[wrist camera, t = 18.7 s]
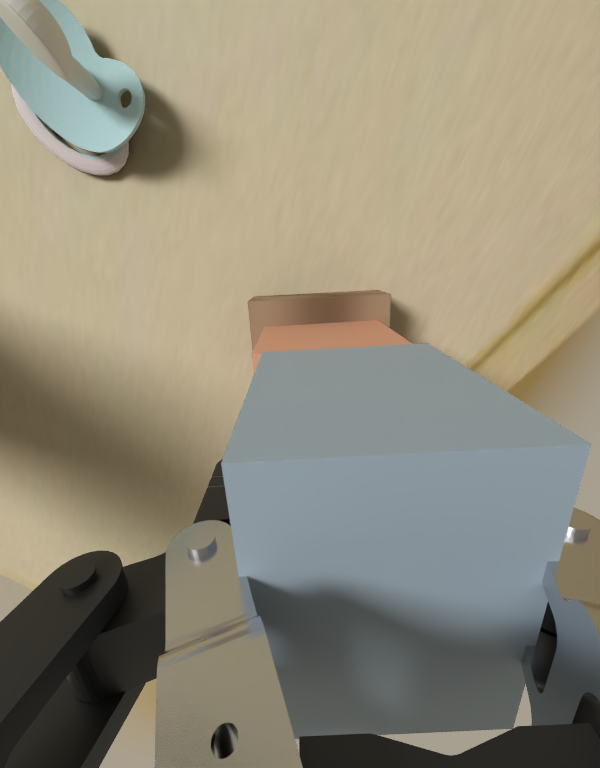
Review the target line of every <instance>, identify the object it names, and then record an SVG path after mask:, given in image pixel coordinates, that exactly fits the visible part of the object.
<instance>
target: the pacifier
mask: <svg viewBox="0 0 600 768" xmlns="http://www.w3.org/2000/svg"><path fill="white" fill-rule="evenodd" d="M0 65H1V67H2V69H3V71H4V73H5V74H6V76H7V78H8V79H9V81H10V82H11V86H12V94H13V97H14V100H15V103H16V105H17V108H18V110H19V112H20V114H21V116H22V117H23V119H24V121H25V123H26V124H27V126H28V127H29V128H30V130H31V131H32V132H33V133H34V135H35V136H36V137H37V138H38V140H39V141H40V142H41V143H42V144H43V145H44V146H45V147H46V148H47V149H48V150H49V151H51V152H52V153H53V154H54V155H55V156H57V157H58V158H59V159H61V160H62V161H64V162H65V163H66V164H68V165H70V166H72V167H74V168H76V169H78V170H80V171H82V172H86V173H89V174H93V175H111V174H113V173H116V172H118V171H119V170H120V169H121V168H122V167H123V166H124V165H125V164H126V161H127V158H128V155H129V140H130V138H131V137H132V136H133V135H134V133H135V132H136V130H137V129H138V127H139V125H140V123H141V120H142V118H143V115H144V110H145V93H144V89H143V87H142V84H141V82H140V80H139V79H138V77H137V75H136V74H135V73H134V72H133V70H132V69H131V68H130V67H128V66H127V65H126V64H124V63H122V62H120V61H118V60H114V59H111V58H102V57H100V56H99V55H98V54H97V53H96V52H95V49H94V47H93V45H92V42H91V41H90V39H89V37H88V35H87V34H86V32H85V30H84V29H83V27H82V26H81V24H80V23H79V21H78V20H77V19H76V17H75V16H74V15H73V14H72V13H71V12H70V11H69V10H68V8H67V7H66V6H64V5H63V4H62V3H61V2H60V1H59V0H0ZM126 91H130V92H131V95H132V100H131V103H130V105H129V106H128V107H126V108H123V107H122V103H121V96H122V94H123V93H124V92H126ZM49 127H50V128H51V129H53V130H54V131H55V132H56V133H57V134H59V135H60V136H61V137H63V138H64V139H66V140H67V141H69V142H70V143H72V144H74V145H76V146H78V147H80V148H82V149H85V150H88V151H91V152H97V153H105V154H103V155H100V156H88V155H85V154H81V153H79V152H77V151H75V150H73V149H72V148H70V147H69V146H68V145H66V144H65V143H64V142H62V141H61V140H60V139H59V138H58V137H57V136H56V135H55V134H54V133H53V132H52V130H51V129H50V128H49Z"/></svg>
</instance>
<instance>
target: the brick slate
mask: <svg viewBox="0 0 600 768" xmlns="http://www.w3.org/2000/svg"><path fill="white" fill-rule="evenodd" d="M590 447H591V443H589V442H587V441H586V440H584V439H583V438H581V437H579V436H578V435H576V434H574V433H573V432H571V431H570V430H568V429H566V428H564V427H563V426H561V425H560V424H558V423H557V422H555V421H553V420H552V419H550V418H548V417H547V416H545V415H543V414H542V413H540V412H538V411H537V410H535V409H534V408H532V407H530V406H529V405H527V404H526V403H524V402H522V401H521V400H519V399H517V398H516V397H514V396H512V395H511V394H509V393H508V392H506V391H504V390H503V389H501V388H499V387H498V386H496V385H495V384H493V383H491V382H490V381H488V380H486V379H485V378H483V377H482V376H480V375H478V374H477V373H475V372H473V371H472V370H470V369H468V368H467V367H465V366H464V365H462V364H460V363H459V362H457V361H455V360H454V359H452V358H451V357H449V356H447V355H446V354H444V353H442V352H441V351H439V350H437V349H436V348H434V347H433V346H431V345H429V344H428V343H422V344H404V345H386V346H368V347H349V348H331V349H313V350H294V351H276V352H262V355H261V357H260V360H259V363H258V366H257V368H256V371H255V374H254V376H253V379H252V382H251V384H250V387H249V390H248V392H247V395H246V398H245V400H244V403H243V406H242V409H241V411H240V414H239V417H238V419H237V422H236V425H235V427H234V430H233V433H232V435H231V438H230V441H229V444H228V446H227V449H226V452H225V454H224V457H223V460H222V462H221V466H222V472H223V479H224V485H225V492H226V498H227V504H228V511H229V517H230V524H231V530H232V537H233V543H234V550H235V556H236V563H237V569H238V575H239V577H243V576H247V579H248V582H249V586H250V590H251V594H252V598H253V601H254V605H255V609H256V612H257V615H260V617H261V619H262V622H263V625H264V629H265V632H266V636H267V639H268V643H269V647H270V650H271V654H272V658H273V661H274V665H275V668H276V672H277V676H278V679H279V683H280V687H281V690H282V694H283V697H284V701H285V705H286V708H287V712H288V716H289V719H290V723H291V727H292V730H293V734H294V737H295V739H299V737H300V736H322V735H343V734H365V733H371V734H375V735H387V734H409V733H430V732H451V731H471V730H472V731H473V730H493V729H513V726H514V723H515V719H516V715H517V712H518V708H519V705H520V701H521V697H522V693H523V690H524V687H525V683H526V682H525V678H524V674H523V669H522V665H521V660H522V657H523V653H524V649H525V646H532V645H536V643H537V639H538V636H539V632H540V629H541V625H542V621H543V618H544V614H545V610H546V607H547V603H548V599H547V596H546V593H545V590H544V588H543V585H542V580H543V576H544V573H545V569H546V565H547V561H559V560H560V556H561V552H562V549H563V545H564V542H565V538H566V534H567V531H568V527H569V523H570V520H571V516H572V513H573V509H574V505H575V502H576V498H577V494H578V491H579V487H580V483H581V480H582V476H583V473H584V469H585V465H586V462H587V458H588V455H589V451H590Z"/></svg>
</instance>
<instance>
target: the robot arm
mask: <svg viewBox="0 0 600 768" xmlns="http://www.w3.org/2000/svg"><path fill="white" fill-rule="evenodd" d="M222 460H223V459H222ZM222 460H221V461H219V462H218V463H217V465H216V467H215V470H214V472H213V475H212V478H211V480H210V482H209V485H208V488H207V490H206V493H205V495H204V498H203V500H202V503H201V505H200V508H199V510H198V513H197V516H196V518H195V521H194V523H193V524H192V525H190V526H188V527H186V528H185V529H183V530H182V531H180V532H179V533H178V534H177V535H176V536H175V537H174V538H173V539H172V540H171V542H170V543H169V545H168V547H167V550H166V553H163V554H161V555H159V556H156V557H154V558H150V559H147V560H144V561H141V562H137V563H134V564H131V565H128V566H124V567H123V566H122V562H121V560H120V558H119V556H118V555H117V554H115V553H113V552H110V551H94V552H90V553H86V554H83V555H81V556H78V557H76V558H74V559H72V560H70V561H68V562H66V563H65V564H63V565H62V566H60V567H59V568H58V569H56V570H55V571H54V572H53V573H51V574H50V575H49V576H48V577H47V578H46V579H45V580H44V581H43V582H42V583H41V584H40V585H39V586H38V587H37V588H36V589H35V590H33V591H32V592H31V593H30V594H29V596H27V597H26V598H25V599H24V600H23V601H22V602H21V603H20V604H19V605H18V606H17V607H16V608H15V609H14V610H12V612H10V613H9V614H8V615H7V616H6V617H5V618H4V619H3V620H2V621H1V622H0V768H99V766H100V764H101V763H102V761H103V759H104V757H105V755H106V754H107V752H108V750H109V748H110V746H111V745H112V743H113V741H114V739H115V738H116V736H117V734H118V732H119V730H120V728H121V727H122V725H123V723H124V721H125V719H126V718H127V716H128V714H129V712H130V710H131V709H132V707H133V705H134V703H135V702H136V700H137V698H138V696H139V694H140V693H141V691H142V689H143V687H144V685H145V683H146V682H148V681H151V680H153V679H156V678H157V685H156V686H157V687H156V731H155V768H600V520H599V519H597V518H595V517H594V516H592V515H590V514H588V513H586V512H584V511H581V510H579V509H577V508H574V509H573V513H572V516H571V520H570V523H569V527H568V531H567V534H566V538H565V542H564V545H563V549H562V552H561V556H560V560H559V561H547V565H546V569H545V573H544V576H543V580H542V585H543V588H544V590H545V593H546V596H547V599H548V603H547V607H546V610H545V614H544V618H543V621H542V625H541V629H540V632H539V636H538V639H537V643H536V645H532V646H525V649H524V653H523V657H522V660H521V665H522V669H523V674H524V678H525V682H526V687H527V691H528V695H529V700H530V705H531V714H532V726H518V727H516V728H514V729H512V730H510V731H507V732H505V733H503V734H501V735H499V736H497V737H495V738H493V739H491V740H488V741H486V742H484V743H482V744H480V745H478V746H476V747H474V748H471V749H470V750H467V751H465V752H463V753H461V754H458V755H453V756H449V755H444V754H440V753H437V752H433V751H430V750H426V749H422V748H420V747H416V746H413V745H409V744H406V743H402V742H399V741H395V740H392V739H389V738H385V737H381V736H378V735H375V734H371V733H365V734H343V735H322V736H300V737H299V740H300V743H299V744H300V756H299V752H298V749H297V745H296V741H295V737H294V734H293V730H292V727H291V723H290V719H289V716H288V712H287V708H286V705H285V701H284V697H283V694H282V690H281V687H280V683H279V679H278V676H277V672H276V668H275V665H274V661H273V658H272V654H271V650H270V647H269V643H268V639H267V636H266V632H265V629H264V625H263V622H262V619H261V617H260V615H257V612H256V609H255V605H254V601H253V598H252V594H251V590H250V586H249V582H248V579H247V576H243V577H239V575H238V569H237V563H236V556H235V550H234V543H233V537H232V530H231V524H230V517H229V511H228V504H227V498H226V492H225V485H224V479H223V472H222V466H221V462H222Z"/></svg>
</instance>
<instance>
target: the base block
mask: <svg viewBox="0 0 600 768" xmlns="http://www.w3.org/2000/svg"><path fill="white" fill-rule="evenodd" d="M390 307H391V294H389V293H385V292H382V291H379V290H373V291H354V292H335V293H315V294H296V295H276V296H257V297H253V298H252V299H250V300H249V301H248V309H249V319H250V329H251V339H252V349H253V350H254V348H255V346H256V344H257V342H258V339H259V337H260V335H261V333H262V331H263V329H264V327H273V326H289V325H305V324H322V323H338V322H354V321H371V320H378V321H380V322H381V323H383V324H384V325H386V326H387V327H389V328H390Z"/></svg>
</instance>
